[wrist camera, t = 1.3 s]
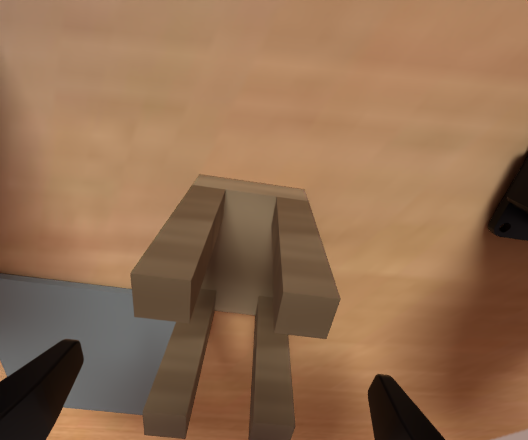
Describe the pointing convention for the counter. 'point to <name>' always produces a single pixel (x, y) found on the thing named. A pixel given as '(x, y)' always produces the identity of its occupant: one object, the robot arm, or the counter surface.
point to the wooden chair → (234, 294)
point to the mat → (84, 338)
